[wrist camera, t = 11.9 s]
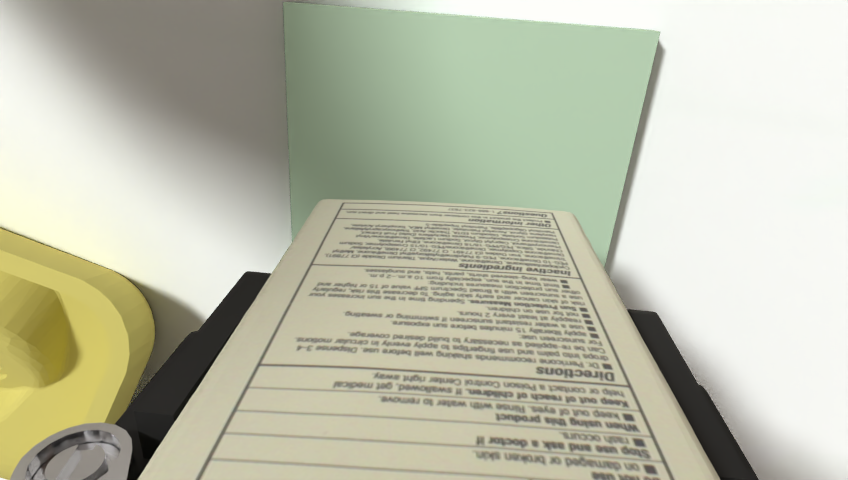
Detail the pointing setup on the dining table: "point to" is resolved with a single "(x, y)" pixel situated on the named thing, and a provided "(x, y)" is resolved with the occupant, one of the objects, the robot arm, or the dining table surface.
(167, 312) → the dining table surface
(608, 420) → the skincare box
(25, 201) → the dining table surface
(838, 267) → the dining table surface
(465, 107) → the mat
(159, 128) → the dining table surface
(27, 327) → the plastic component
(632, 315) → the robot arm
